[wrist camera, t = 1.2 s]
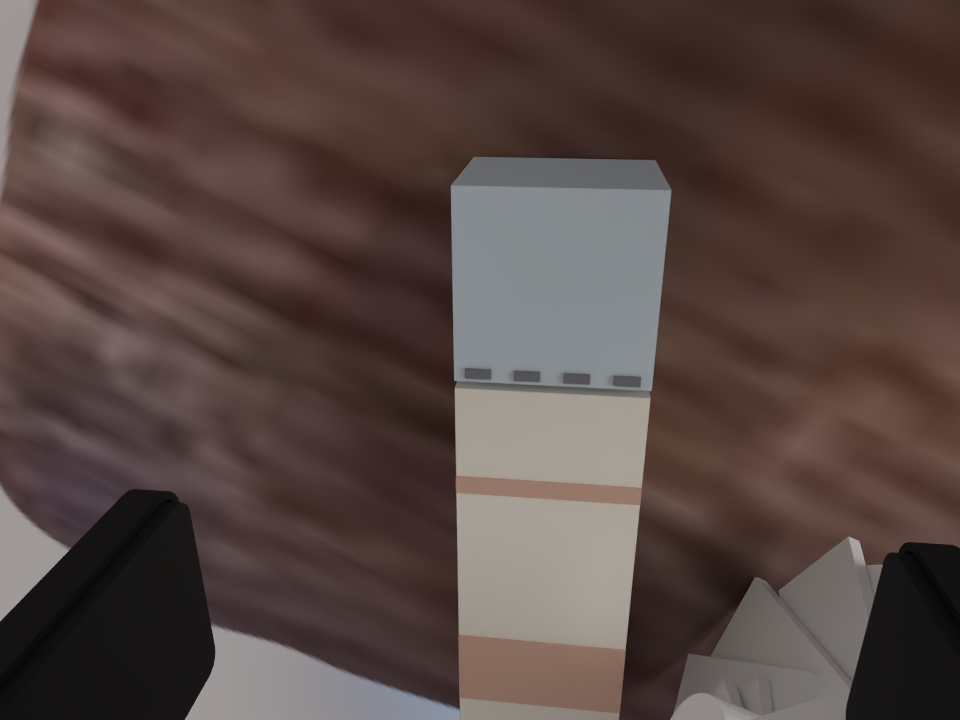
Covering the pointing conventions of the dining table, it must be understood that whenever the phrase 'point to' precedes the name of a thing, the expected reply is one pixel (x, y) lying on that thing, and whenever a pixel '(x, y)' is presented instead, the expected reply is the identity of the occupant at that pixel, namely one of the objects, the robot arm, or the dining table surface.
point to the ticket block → (546, 547)
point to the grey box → (558, 271)
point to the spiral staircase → (787, 646)
